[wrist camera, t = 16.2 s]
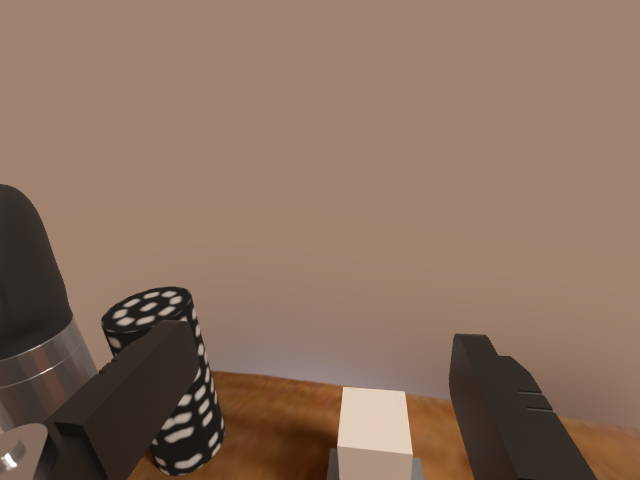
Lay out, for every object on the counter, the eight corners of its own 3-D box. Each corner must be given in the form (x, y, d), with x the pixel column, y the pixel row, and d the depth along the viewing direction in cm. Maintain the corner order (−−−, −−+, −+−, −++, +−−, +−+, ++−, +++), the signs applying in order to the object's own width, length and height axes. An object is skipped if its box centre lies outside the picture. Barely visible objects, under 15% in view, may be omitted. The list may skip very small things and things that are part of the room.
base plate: (322, 531, 29) (317, 488, 26) (331, 456, 35) (328, 416, 33) (431, 549, 27) (437, 505, 25) (419, 467, 33) (423, 425, 31)
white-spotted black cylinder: (190, 404, 43) (154, 282, 36) (238, 421, 40) (208, 292, 33) (139, 460, 36) (81, 323, 29) (191, 487, 33) (141, 340, 26)
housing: (342, 518, 28) (337, 445, 25) (346, 453, 34) (343, 386, 30) (407, 528, 27) (412, 454, 24) (401, 459, 33) (404, 391, 29)
